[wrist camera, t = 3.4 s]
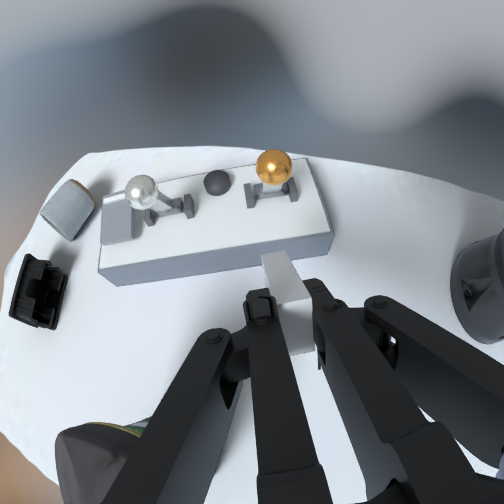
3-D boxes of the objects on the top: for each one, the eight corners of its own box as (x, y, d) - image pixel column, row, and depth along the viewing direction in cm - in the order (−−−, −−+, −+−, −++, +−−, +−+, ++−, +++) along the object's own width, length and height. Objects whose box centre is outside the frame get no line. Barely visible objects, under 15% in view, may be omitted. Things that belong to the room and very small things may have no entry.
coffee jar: (220, 486, 22) (160, 574, 5) (155, 477, 22) (55, 529, 6) (217, 412, 26) (139, 447, 9) (152, 406, 26) (33, 411, 10)
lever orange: (287, 202, 31) (300, 176, 21) (256, 207, 31) (256, 182, 21) (282, 176, 31) (293, 140, 21) (252, 181, 31) (250, 146, 21)
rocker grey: (134, 239, 30) (129, 236, 28) (104, 245, 30) (98, 242, 28) (135, 191, 31) (130, 186, 30) (106, 199, 32) (101, 194, 30)
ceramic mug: (105, 207, 41) (81, 178, 34) (77, 247, 37) (49, 222, 31) (74, 194, 44) (53, 169, 37) (50, 229, 40) (26, 206, 34)
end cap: (44, 270, 36) (19, 252, 30) (69, 272, 36) (43, 253, 30) (30, 325, 32) (1, 313, 26) (55, 334, 31) (24, 322, 25)
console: (327, 254, 33) (337, 224, 27) (117, 286, 34) (89, 265, 28) (305, 181, 39) (308, 147, 33) (124, 214, 39) (104, 187, 33)
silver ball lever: (185, 219, 31) (154, 201, 21) (157, 225, 31) (117, 210, 21) (182, 193, 31) (152, 165, 21) (154, 199, 32) (116, 175, 21)
